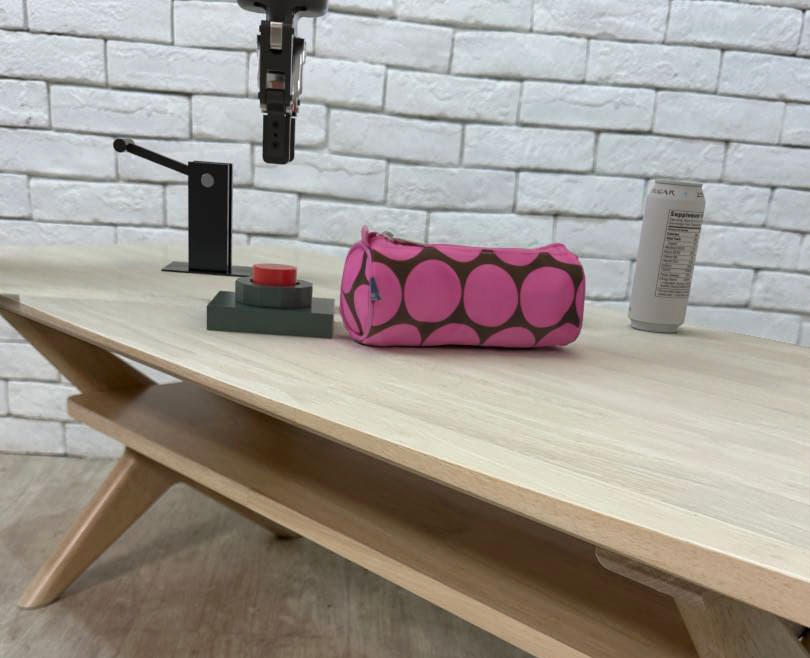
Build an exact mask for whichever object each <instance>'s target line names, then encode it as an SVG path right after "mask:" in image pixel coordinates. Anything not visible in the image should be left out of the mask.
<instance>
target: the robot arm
mask: <svg viewBox="0 0 810 658" xmlns="http://www.w3.org/2000/svg"><path fill="white" fill-rule="evenodd" d="M236 2H237V5H238V7H240V8H241V9H242V10H245V11H248V12H251V13H256V14H261V15H262V14H263V15H265V19H260V24H259V25H258V32H259V33H260V34H256V41H255V51H256V58H257V69H256V72H257V73H256V80H257V81H256V82H257V87H258V90H259V91H258V92H257V99H258V100H259V108H260V110H261V113H262V148H261V149H262V150H261V151H262V156H261V157H262V160H263V162H264V163H265V164H268V165H269V164H271V165H281V166H283V165H287V164H289V163H291V162H293V161H294V160H295V155H296V126H297V125H296V123H297V121H296V120H297V119H296V118H298V114H299V113H300V106H301V99H300V96H301V95H302V94H303V89H304V66H305V64H306V59H307V41H306V38H302V37H301V36H298V34H299V33H298V31H299V30H298V29H299V27H298V26H299V25H298V23H299V21H300V19H302V18H309V19H311V18H313V19H314V18H321V17H323V16H325V15H327V13H328V11H329V5H330V3H329V2H330V0H236Z"/></svg>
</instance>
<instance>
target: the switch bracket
mask: <svg viewBox="0 0 810 658" xmlns="http://www.w3.org/2000/svg"><path fill="white" fill-rule="evenodd" d="M187 165H188V176H187V225H188V226H187V246H188V247H187V249H188V253H187V254H188V255H187V257H188V258H187V259H188V261H177V260H176V261H175V260H173V261H172V262H169V263H168V264H167V265H166V266H164V267H163V268H161V272H163V273H164V272H165V273H166V272H167V273H179V274H193V275H195V274H196V275H207V276H221V277H234V278H235V277H236V278H241V277H249V276H252V275H253V266H245V265H233V218H234V217H233V214H234V213H233V210H234V205H233V203H234V163H231V162H220V161H219V162H218V161H206V160H193V161H192V160H191V161H189V160H188V161H187Z"/></svg>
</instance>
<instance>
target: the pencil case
mask: <svg viewBox="0 0 810 658" xmlns="http://www.w3.org/2000/svg"><path fill="white" fill-rule="evenodd" d="M360 235H361V239H360V240H359V241H357V242H355V243H354V244H352V246H351V247H350V248H349V250H348V251H347V254H346V256H345V260H344V264H343V269H342V275H341V283H340V288H339V289H340V290H339V310H340V316H341V321H342V323H343V325H344V328H345V329H346V331H347V333H348V335H349V336H350V337H351V339H352V341H354V342H356V343H358V344H361V345H368V346H373V347H394V346H395V347H396V346H397V347H399V346H400V347H435V346H445V345H452V346H453V345H455V346H478V347H501V348H539V347H542V348H543V347H554V346H560V347H566V346H569V345H570V344H572V343H575V342H576V341H577V340H578V338H579V336H580V335H581V332H582V328H583V324H584V323H583V322H584V311H585V301H586V290H587V289H586V288H587V287H586V283H587V282H586V274H585V270H584V267H583V263H582V262H580V260H579V256H578V255H577V253H574V252H572V251H570V250H569V249H568V248H567V247H566V245H565V244H564V243H561V242H553V243H549V244H546V245H544V246H540V247H536V248H523V247H484V246H472V245H471V246H469V245H460V244H451V243H427V244H425V243H424V242H419V241H415V240H410V239H406V238H402V237H398V236H396V237H395V236H394V233H392V232H390V231H388V230H383V232H381V233H380V232H379V231H370V230H369V227H368V225H367V224H364V225H362V227H361V229H360Z"/></svg>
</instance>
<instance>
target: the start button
mask: <svg viewBox="0 0 810 658" xmlns="http://www.w3.org/2000/svg"><path fill="white" fill-rule="evenodd" d="M252 267H253V275H252V283H257V284H263V285H273V286H294V285H297V279H298V267H296V266H294V265H289V264H282V263H254V264H253V265H252Z"/></svg>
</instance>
